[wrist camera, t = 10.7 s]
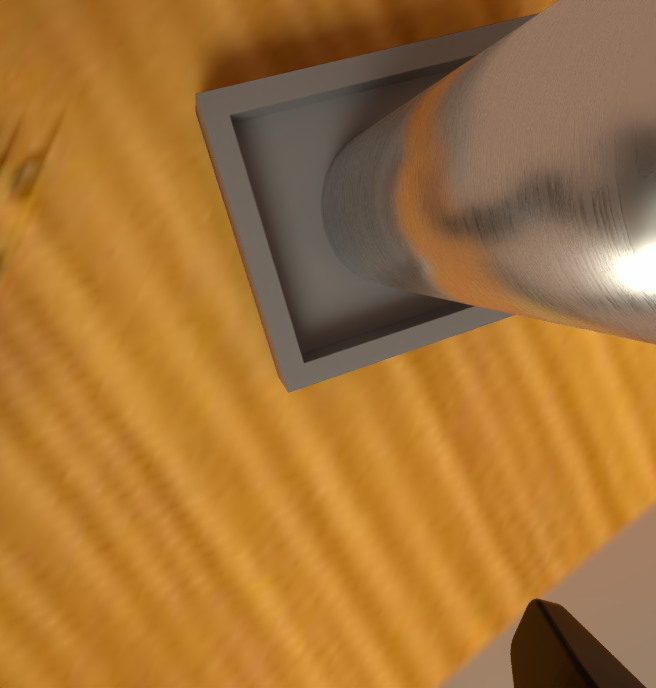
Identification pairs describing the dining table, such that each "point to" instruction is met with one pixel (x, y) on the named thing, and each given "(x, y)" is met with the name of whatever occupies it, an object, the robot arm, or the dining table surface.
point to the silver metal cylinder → (518, 177)
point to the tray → (305, 204)
